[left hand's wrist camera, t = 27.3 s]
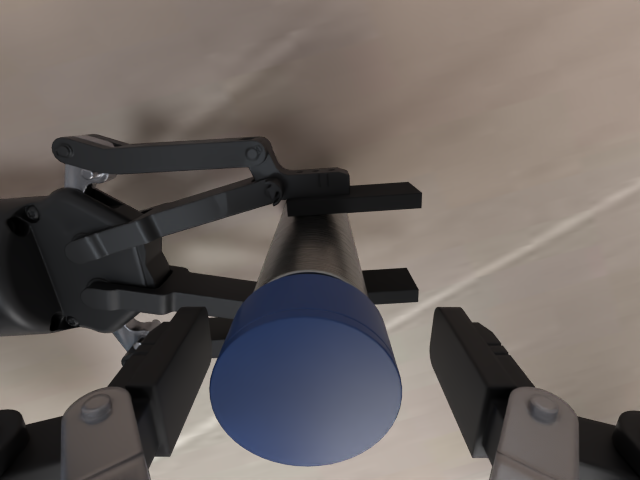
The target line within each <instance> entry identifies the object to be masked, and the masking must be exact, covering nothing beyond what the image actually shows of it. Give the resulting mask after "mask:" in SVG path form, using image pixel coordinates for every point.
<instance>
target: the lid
mask: <svg viewBox="0 0 640 480" xmlns="http://www.w3.org/2000/svg"><path fill="white" fill-rule="evenodd" d="M209 390H210V400H211V405H212V409H213V411H214V414H215V416H216V418H217V420H218V422H219V423H220V425H221V427H222V428H223V429H224V430H225V432H226V433H227V434H228V435H229V436H230V437H231V438H232V439H233V440H234V441H235V442H236V443H238V444H239V445H240V446H242V447H243V448H245V449H246V450H248V451H250V452H251V453H253V454H255V455H257V456H260V457H262V458H264V459H267V460H270V461H273V462H277V463H281V464H286V465H293V466H321V465H328V464H333V463H337V462H341V461H344V460H347V459H350V458H352V457H355V456H357V455H359V454H361V453H363V452H364V451H366V450H368V449H369V448H371V447H372V446H373V445H375V444H376V443H377V442H378V441H379V440H380V439H381V438H382V437H383V436H384V435H385V434H386V433H387V432H388V430H389V429H390V428H391V426H392V425H393V423H394V421H395V419H396V417H397V415H398V412H399V409H400V405H401V400H402V384H401V378H400V374H399V371H398V368H397V364H396V361H395V358H394V354H393V351H392V347H391V344H390V341H389V337H388V334H387V331H386V327H385V324H384V321H383V318H382V316H381V314H380V312H379V310H378V309H377V308H376V306H375V305H374V303H373V302H372V301H371V300H370V299H369V298H368V297H367V296H366V295H365V294H364V293H362V292H361V291H360V290H359V289H357V288H355V287H354V286H352V285H350V284H349V283H346V282H344V281H342V280H339V279H336V278H333V277H330V276H324V275H318V274H297V275H291V276H286V277H282V278H279V279H276V280H274V281H271V282H269V283H267V284H265V285H263V286H262V287H260V288H259V289H257V290H256V291H255V292H253V293H252V294H251V295H250V296H249V297H248V298H247V299H246V300H245V301H244V302H243V303H242V305H241V306H240V308H239V309H238V311H237V313H236V315H235V317H234V320H233V322H232V324H231V327H230V329H229V332H228V334H227V336H226V339H225V341H224V344H223V346H222V349H221V351H220V353H219V356H218V358H217V361H216V363H215V365H214V368H213V371H212V375H211V378H210V388H209Z"/></svg>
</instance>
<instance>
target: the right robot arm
mask: <svg viewBox="0 0 640 480" xmlns="http://www.w3.org/2000/svg"><path fill="white" fill-rule="evenodd" d="M52 152H53V154H54V156H55V157H56V158H57V159H58V160H59V161H60V162H62V163H65V184H64V188H60V189H57V190H55V191H54V192H52V193H51V194H50V195H49V196H38V197H23V198H9V199H0V336H17V335H34V334H48V333H54V332H59V331H63V330H67V329H72V328H77V327H84V328H89V329H92V330H95V331H98V332H101V333H113V334H114V336H115V337H116V338H117V339H118V341H119V342H120V343H121V344H122V346H123V347H124V348H125V349H126V351H127V353H126V354H125V356H124V357H123V358H122V360H121V363H122V366H124V364H125V363H126V362H127V361H128V359H129V358H130V357H131V355H132V354H134V351H135V350H136V349H137V348H138V346H139V345H141V342H142V341H143V340H144V338H145V337H146V336H147V335H148V333H149V332H150V331H151V330H153V329H154V328H156V327H157V326H158V325H160V324H161V322H160V321H159V320H153V321H152V322H139V321H137V320H135V319H134V317H135V316H136V315H138V314H139V313H140V312H143V313H150V314H157V315H164V314H167V313H170V312H173V311H176V312H177V311H178V310H179V309H180V308H181V307H206V309H207V312H208V316H213V317H215V318H208V319H209V326H210V334H211V342H212V357H211V358H218V356H219V353H220V351H221V349H222V346H223V344H224V341H225V339H226V336H227V334H228V332H229V329H230V327H231V324H232V322H233V320H234V317H235V315H236V313H237V311H238V309H239V308H240V306H241V305H242V303H243V302H244V301H245V300H246V299H247V298H248V297H249V296H250V295H251V294H252V293H253V292H254V289H255V286H256V284H257V282H254V281H247V280H240V279H233V278H226V277H219V276H212V275H205V274H198V273H191V272H189V271H188V269H186V268H183V267H177V266H170V265H169V264H168V262H167V260H166V258H165V256H164V254H163V253H162V237H163V236H166V235H169V234H173V233H176V232H179V231H183V230H186V229H189V228H193V227H196V226H199V225H202V224H206V223H209V222H212V221H216V220H219V219H222V218H226V217H229V216H232V215H236V214H239V213H242V212H246V211H249V210H252V209H256V208H259V207H262V206H265V205H269V204H272V203H273V206H275V205H277V204H278V203H279V202H280V201H281V200H287V201H286V205H287V214H288V217H294V216H309V215H324V214H339V213H354V212H369V211H385V210H400V209H415V208H421V205H422V193H421V192H420V191H419V190H418V189H417V188H415V187H414V186H413V185H412V184H410V183H409V182H400V183H386V184H371V185H356V186H350V181H349V173H348V171H347V170H344V169H341V168H338V167H335V168H321V169H307V170H287V169H285V168H283V167H282V166H281V165H280V164H279V162H278V160H277V158H276V156H275V154H274V152H273V150H272V145H271V143H270V141H269V140H268V139H266V138H265V137H243V138H226V139H209V140H192V141H175V142H158V143H141V144H128V143H124V142H121V141H117V140H114V139H111V138H107V137H104V136H100V135H97V134H89V135H80V136H70V137H60V138H58V139H56V140H55V141H54V142H53V144H52ZM241 167H249V169H250V171H251V173H252V175H253V177H251V178H248V179H245V180H242V181H239V182H235V183H232V184H229V185H226V186H223V187H219V188H216V189H213V190H210V191H207V192H203V193H200V194H197V195H194V196H190V197H187V198H184V199H181V200H178V201H174V202H171V203H165V204H161V205H158V206H155V207H152V208H149V209H145V210H142V211H137V210H136V209H134V208H132V207H130V206H128V205H126V204H125V203H123V202H121V201H119V200H117V199H115V198H113V197H112V196H110V195H108V194H106V193H104V192H102V191H101V190H99V189H97V188H95V187H96V184H97V183H103V182H106V181H109V180H112V179H114V178H115V177H116V176H117V175H118V174H136V173H153V172H171V171H188V170H206V169H223V168H241ZM362 274H363V278H364V282H365V286H366V290H367V294H368V298H369V299H370V300H371V301H372V302H373V303H374V304H391V303H408V302H418V291H419V289H418V288H417V286H416V284H415V282H414V280H413V279H412V277H411V275H410V273H409V271H408V270H407V268H397V269H380V270H364V271H362Z"/></svg>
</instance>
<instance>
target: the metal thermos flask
mask: <svg viewBox="0 0 640 480" xmlns="http://www.w3.org/2000/svg"><path fill="white" fill-rule="evenodd" d="M297 274H318V275H324V276H330V277H333V278H336V279H339V280H342V281H344V282H346V283H349V284H350V285H352V286H354V287H355V288H357V289H359V290H360V291H361V292H362V293H364V294H365V295H366V296H367V297H368V294H367V290H366V286H365V282H364V278H363V274H362V270H361V266H360V262H359V258H358V254H357V250H356V246H355V242H354V239H353V235H352V231H351V227H350V223H349V219H348V215H347V213H339V214H324V215H309V216H294V217H288V214H287V205H285V207H284V210H283V213H282V216H281V218H280V221H279V224H278V226H277V229H276V232H275V235H274V237H273V240H272V243H271V245H270V248H269V251H268V254H267V256H266V259H265V262H264V265H263V267H262V270H261V273H260V275H259V278H258V281H257V284H256V286H255V289H254V292H255V291H256V290H257V289H259V288H260V287H262V286H263V285H265V284H267V283H269V282H271V281H274V280H276V279H279V278H282V277H286V276H291V275H297Z"/></svg>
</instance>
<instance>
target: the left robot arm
mask: <svg viewBox="0 0 640 480" xmlns="http://www.w3.org/2000/svg"><path fill="white" fill-rule="evenodd" d="M211 357H212V342H211V334H210V326H209V319H208V312H207V309H206V307H181V308H180V309H179V310H178V311H177V313H176V314H175V316H174V317H173V318H172V320H171V321H170V322H163V323H161V324H160V325H158V326H157V327H156V328H154V329H153V330H151V331H150V332H149V333H148V335H147V336H146V337H145V338H144V340H143V341H142V342H141V345H139V346H138V348H137V349H136V350H135V351H134V354H132V355H131V357H130V358H129V359H128V361H127V362H126V363H125V364H124V366H123V367H122V368H121V370H120V371H119V372H118V374H117V375H116V376H115V377H114V379H113V380H112V381H111V383H110V384H109V385H108V387H105V388H101V389H98V390H95V391H92V392H90V393H88V394H86V395H84V396H83V397H81V398H79V399H78V400H77V401H75V402H74V403H73V404H72V405H71V406H70V407H69V408H68V409H67V410H66V412H65V413H64V415H63V416H61V417H57V418H52V419H48V420H44V421H40V422H36V423H32V424H27V425H25V422H24V420H23V417H22V415H21V414H20V412H18V411H16V410H9V409H7V410H0V480H151V478H150V474H149V470H148V469H149V467H150V465H151V463H152V461H153V459H154V457H170V456H171V453H172V451H173V449H174V446H175V444H176V442H177V439H178V437H179V435H180V433H181V430H182V428H183V426H184V423H185V421H186V419H187V416H188V414H189V412H190V409H191V407H192V405H193V403H194V400H195V398H196V396H197V393H198V391H199V389H200V386H201V384H202V382H203V379H204V377H205V375H206V373H207V370H208V368H209V365H210V362H211ZM430 359H431V364H432V367H433V369H434V371H435V374H436V376H437V378H438V380H439V383H440V385H441V387H442V390H443V392H444V394H445V396H446V399H447V401H448V403H449V405H450V408H451V410H452V412H453V415H454V417H455V419H456V421H457V424H458V426H459V428H460V431H461V433H462V435H463V437H464V440H465V442H466V444H467V447H468V449H469V451H470V453H471V456H472V458H489V460H490V462H491V464H492V470H491V474H490V478H489V480H640V411H627V412H624V413H622V414H621V415H620V417H619V419H618V422H617V424H616V426H615V425H611V424H606V423H602V422H598V421H594V420H590V419H586V418H582V417H578V416H577V415H576V413H575V412H574V410H573V409H572V408H571V407H570V406H569V405H568V404H567V403H566V402H565V401H563V400H562V399H561V398H559V397H557V396H556V395H554V394H552V393H550V392H548V391H545V390H542V389H539V388H535V386H534V385H533V384H532V383H531V381H530V380H529V379H528V377H527V376H526V375H525V374H524V372H523V371H522V370H521V368H520V367H519V366H518V365H517V363H516V362H515V361H514V359H513V358H512V357H511V356H510V355H508V352H507V350H506V349H505V348H504V347H503V346H501V343H500V341H499V340H498V339H497V338H496V336H495V335H494V334H493V332H491V331H490V330H489V329H487V328H486V327H484V326H483V325H481V324H480V323H478V322H471V320H470V319H469V317H468V316H467V315H466V313H465V312H464V310H463V309H462V308H461V307H437V308H436V309H435V312H434V318H433V326H432V333H431V341H430Z"/></svg>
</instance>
